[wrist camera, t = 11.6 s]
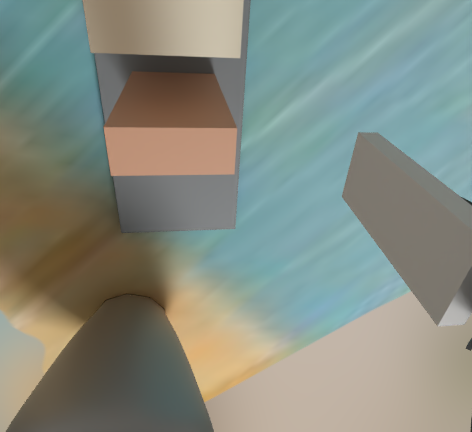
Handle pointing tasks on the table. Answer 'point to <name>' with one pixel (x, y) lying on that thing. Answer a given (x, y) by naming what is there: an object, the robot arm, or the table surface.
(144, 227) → the domino board
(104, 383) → the vase
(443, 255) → the robot arm
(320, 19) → the table surface
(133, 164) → the domino
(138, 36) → the domino
